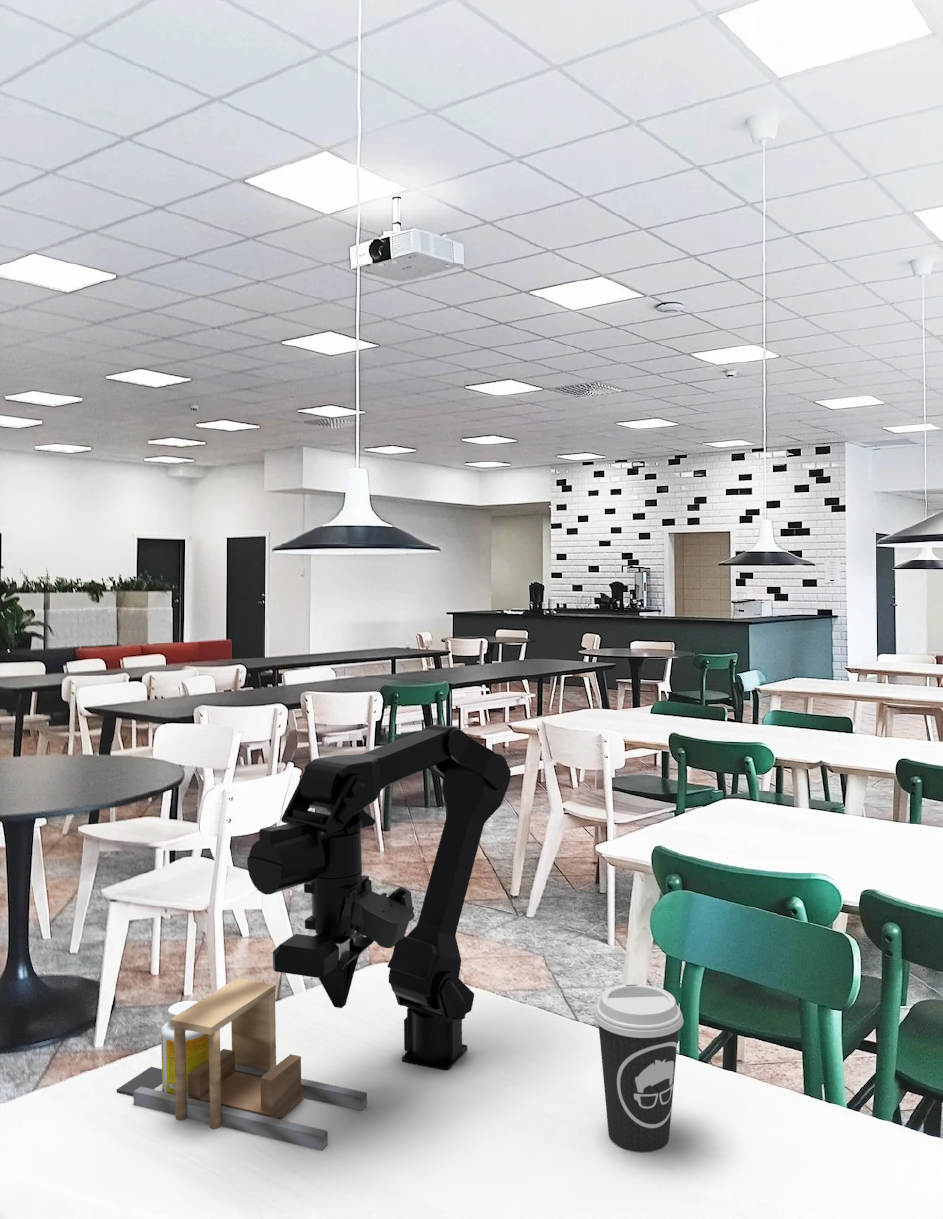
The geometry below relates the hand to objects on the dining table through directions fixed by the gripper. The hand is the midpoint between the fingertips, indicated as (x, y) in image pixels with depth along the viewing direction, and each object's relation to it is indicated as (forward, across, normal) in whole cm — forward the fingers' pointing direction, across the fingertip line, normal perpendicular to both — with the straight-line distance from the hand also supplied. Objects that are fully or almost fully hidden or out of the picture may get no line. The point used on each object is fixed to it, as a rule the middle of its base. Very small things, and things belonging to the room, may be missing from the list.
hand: (339, 1006), depth 116 cm
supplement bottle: (+12, -3, +19) cm, 22 cm away
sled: (+11, -4, +11) cm, 16 cm away
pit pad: (+12, -3, +25) cm, 27 cm away
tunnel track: (+12, -4, +10) cm, 16 cm away
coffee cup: (+12, +6, -33) cm, 36 cm away
